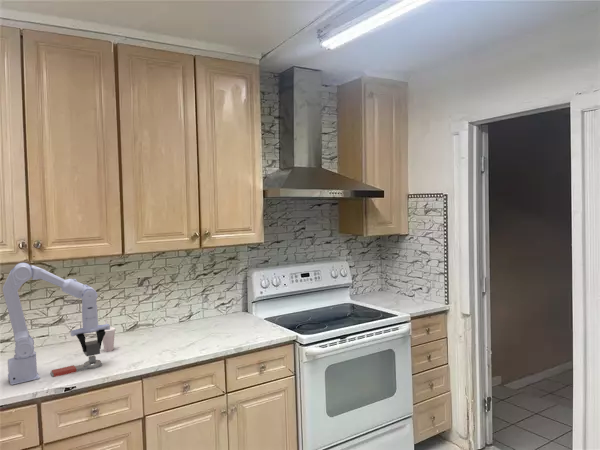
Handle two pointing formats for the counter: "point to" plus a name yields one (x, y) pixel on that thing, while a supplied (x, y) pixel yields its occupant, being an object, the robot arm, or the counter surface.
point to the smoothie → (109, 339)
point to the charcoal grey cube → (92, 348)
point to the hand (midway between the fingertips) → (91, 350)
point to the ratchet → (77, 367)
